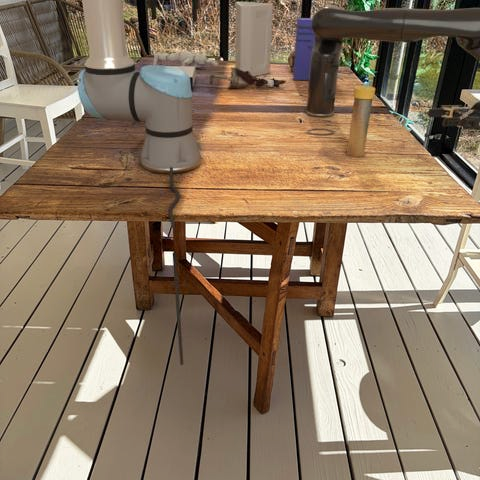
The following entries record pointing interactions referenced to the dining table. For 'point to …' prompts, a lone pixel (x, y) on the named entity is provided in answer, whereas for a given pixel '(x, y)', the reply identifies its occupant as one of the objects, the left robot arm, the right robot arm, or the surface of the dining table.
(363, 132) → the tan cylinder
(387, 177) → the dining table surface
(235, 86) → the figurine
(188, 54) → the toy
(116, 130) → the dining table surface
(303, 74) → the cereal box
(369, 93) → the lid
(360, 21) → the right robot arm
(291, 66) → the anatomical model
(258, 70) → the tall white pillar
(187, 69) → the disc drive
